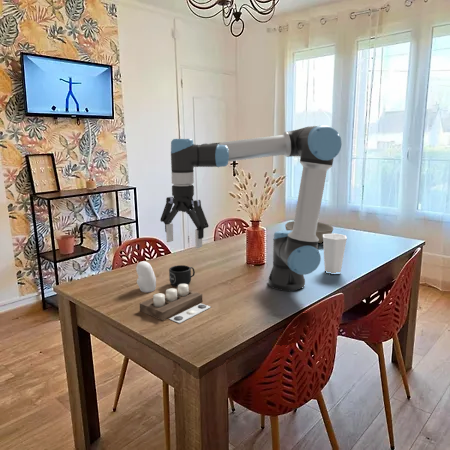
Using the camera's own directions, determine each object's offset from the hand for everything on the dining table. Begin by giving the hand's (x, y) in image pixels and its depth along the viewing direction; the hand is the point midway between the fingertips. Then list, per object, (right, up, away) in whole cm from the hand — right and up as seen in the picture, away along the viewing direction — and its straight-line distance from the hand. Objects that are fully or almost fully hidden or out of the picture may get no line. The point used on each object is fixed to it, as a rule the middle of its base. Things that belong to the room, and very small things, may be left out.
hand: (184, 244), depth 139 cm
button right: (-1, -20, +9) cm, 22 cm away
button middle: (-5, -21, +5) cm, 22 cm away
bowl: (+64, -3, +94) cm, 113 cm away
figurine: (-17, -20, +21) cm, 34 cm away
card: (+3, -24, -1) cm, 24 cm away
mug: (-3, -18, +27) cm, 33 cm away
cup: (+64, -15, +40) cm, 77 cm away
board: (-5, -23, +5) cm, 24 cm away
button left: (-9, -22, 0) cm, 24 cm away
